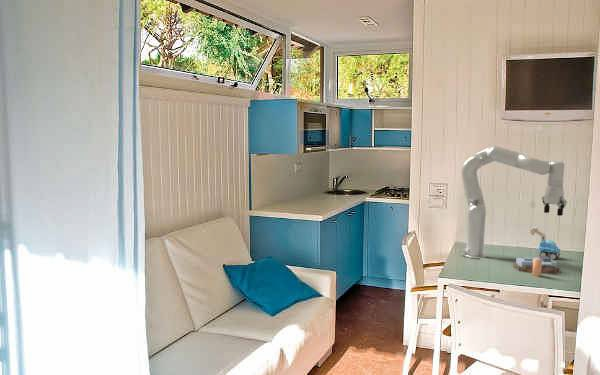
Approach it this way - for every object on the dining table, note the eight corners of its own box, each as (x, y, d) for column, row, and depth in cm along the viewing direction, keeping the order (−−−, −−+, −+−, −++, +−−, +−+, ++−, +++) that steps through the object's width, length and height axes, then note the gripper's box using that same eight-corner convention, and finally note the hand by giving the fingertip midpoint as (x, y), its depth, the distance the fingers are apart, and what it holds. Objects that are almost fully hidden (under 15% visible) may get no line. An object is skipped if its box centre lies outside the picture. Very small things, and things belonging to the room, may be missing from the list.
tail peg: (533, 279, 270) (535, 259, 269) (530, 277, 274) (532, 258, 273) (541, 279, 270) (543, 260, 269) (538, 277, 274) (540, 258, 273)
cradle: (519, 274, 278) (520, 266, 277) (511, 268, 291) (511, 260, 290) (561, 276, 277) (561, 267, 276) (551, 269, 290) (551, 261, 289)
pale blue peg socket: (523, 272, 277) (523, 259, 276) (514, 265, 291) (514, 253, 290) (558, 273, 276) (559, 261, 275) (548, 266, 290) (548, 254, 289)
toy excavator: (531, 253, 327) (533, 225, 325) (561, 258, 316) (563, 229, 314) (527, 255, 320) (529, 227, 318) (557, 260, 310) (559, 231, 308)
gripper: (538, 182, 305) (536, 211, 307) (562, 185, 288) (559, 216, 290) (548, 181, 307) (546, 211, 309) (573, 185, 291) (570, 216, 293)
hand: (553, 214), depth 300 cm, fingers open, 9 cm apart
